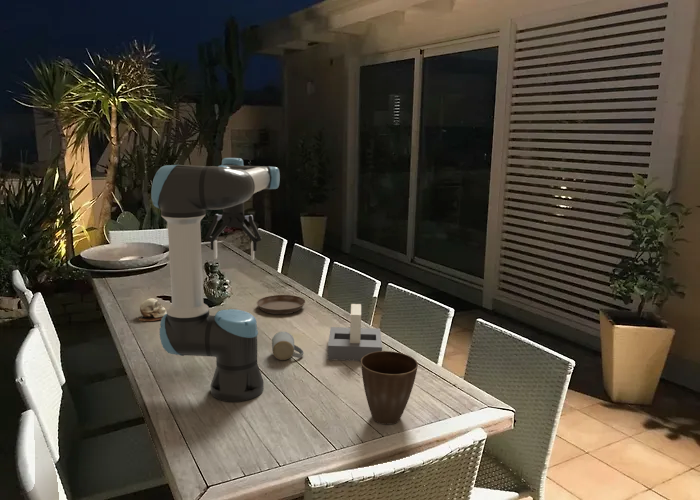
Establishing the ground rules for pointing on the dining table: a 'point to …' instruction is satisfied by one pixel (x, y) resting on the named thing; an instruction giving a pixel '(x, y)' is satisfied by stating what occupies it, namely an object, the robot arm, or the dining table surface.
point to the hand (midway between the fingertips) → (234, 259)
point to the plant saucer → (281, 304)
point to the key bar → (355, 323)
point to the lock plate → (353, 351)
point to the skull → (152, 310)
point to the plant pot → (388, 383)
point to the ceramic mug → (285, 346)
